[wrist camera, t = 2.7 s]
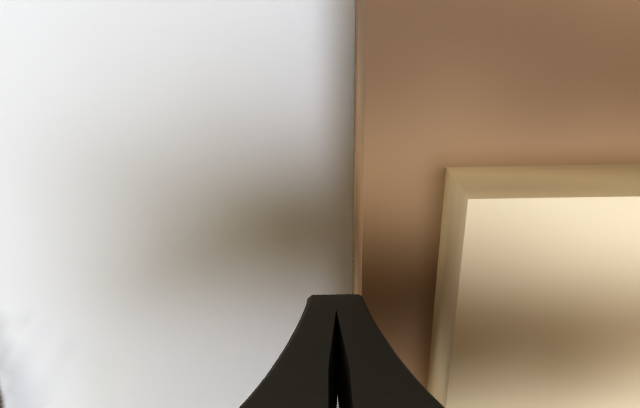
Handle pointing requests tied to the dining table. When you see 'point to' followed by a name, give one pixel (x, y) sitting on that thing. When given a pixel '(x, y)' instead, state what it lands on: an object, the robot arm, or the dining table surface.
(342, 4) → the dining table surface
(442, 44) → the walnut deck
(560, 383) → the birch tile
